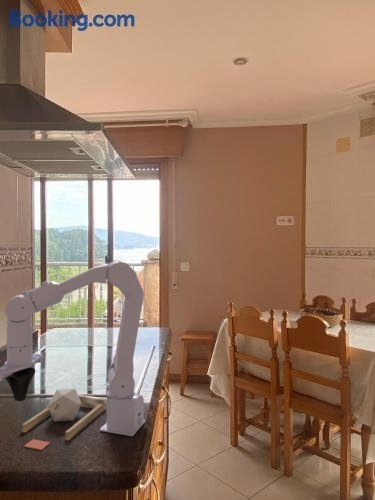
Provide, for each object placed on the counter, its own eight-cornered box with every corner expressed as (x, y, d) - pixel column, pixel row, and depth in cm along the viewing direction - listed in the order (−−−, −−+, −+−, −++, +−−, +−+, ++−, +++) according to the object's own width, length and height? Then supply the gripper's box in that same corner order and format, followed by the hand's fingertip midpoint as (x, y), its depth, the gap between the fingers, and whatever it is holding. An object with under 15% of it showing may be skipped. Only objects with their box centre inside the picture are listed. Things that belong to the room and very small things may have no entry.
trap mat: (50, 443, 86) (50, 442, 86) (41, 450, 84) (41, 449, 84) (33, 440, 88) (33, 439, 88) (24, 446, 85) (24, 445, 85)
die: (45, 418, 100) (39, 400, 95) (67, 394, 107) (63, 376, 101) (66, 434, 98) (62, 416, 92) (88, 408, 104) (85, 390, 98)
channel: (105, 408, 105) (105, 398, 105) (68, 440, 88) (68, 428, 88) (65, 402, 109) (65, 392, 109) (22, 431, 92) (22, 420, 92)
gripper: (27, 336, 95) (27, 386, 95) (-19, 351, 81) (-18, 410, 81) (49, 338, 93) (50, 389, 93) (6, 354, 79) (7, 415, 79)
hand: (20, 399), depth 87 cm, fingers closed
